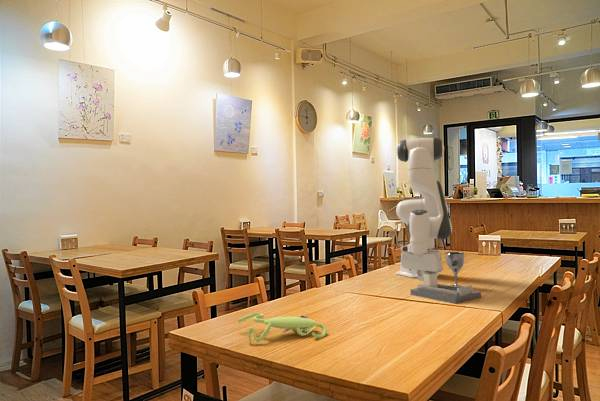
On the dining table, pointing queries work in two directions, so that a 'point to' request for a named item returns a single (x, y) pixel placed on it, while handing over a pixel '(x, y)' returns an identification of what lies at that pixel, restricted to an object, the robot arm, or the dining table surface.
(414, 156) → the robot arm
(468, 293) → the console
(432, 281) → the fader tab
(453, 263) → the wine glass
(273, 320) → the figurine
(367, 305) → the dining table surface
